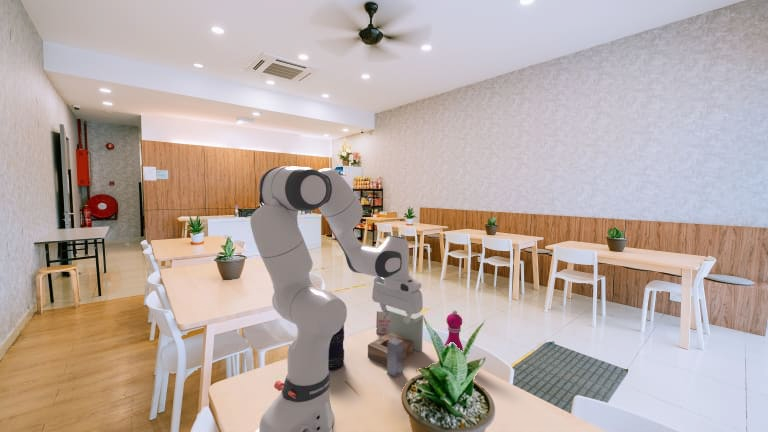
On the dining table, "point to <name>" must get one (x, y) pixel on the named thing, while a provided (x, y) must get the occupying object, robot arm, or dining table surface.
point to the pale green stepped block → (407, 326)
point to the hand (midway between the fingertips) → (395, 318)
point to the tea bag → (383, 323)
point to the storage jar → (336, 351)
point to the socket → (379, 348)
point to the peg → (394, 357)
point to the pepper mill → (454, 329)
